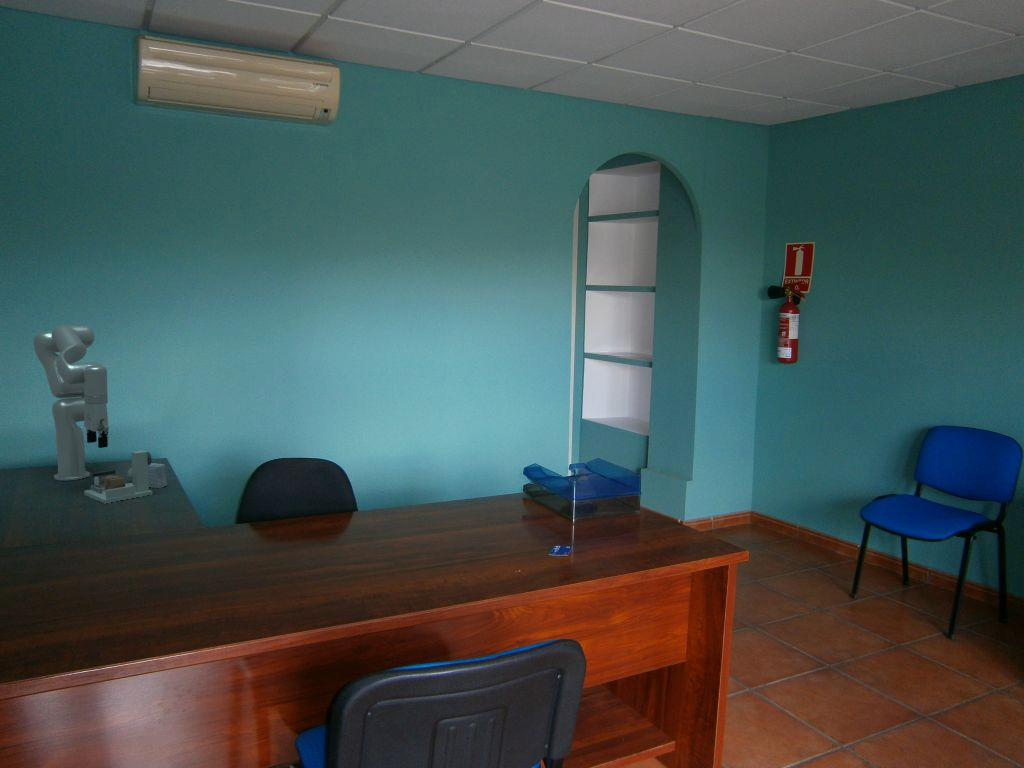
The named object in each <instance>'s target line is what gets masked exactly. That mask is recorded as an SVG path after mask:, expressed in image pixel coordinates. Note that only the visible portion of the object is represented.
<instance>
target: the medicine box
mask: <svg viewBox="0 0 1024 768" xmlns="http://www.w3.org/2000/svg"><path fill="white" fill-rule="evenodd" d="M166 469H167V467H166V464H163V463H155V462H154V463H153V462H151V464H150V465H148V485H149V487H151V489H157V488H159V489H162V488H164V486H166V487H167V472H166V471H167V470H166ZM161 487H162V488H161Z"/></svg>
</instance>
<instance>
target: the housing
mask: <svg viewBox="0 0 1024 768" xmlns="http://www.w3.org/2000/svg"><path fill="white" fill-rule="evenodd" d="M125 484H126V477H125V476H121V475H113V477H107V478H105V490H110V489H116V488H122V487H125Z"/></svg>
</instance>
